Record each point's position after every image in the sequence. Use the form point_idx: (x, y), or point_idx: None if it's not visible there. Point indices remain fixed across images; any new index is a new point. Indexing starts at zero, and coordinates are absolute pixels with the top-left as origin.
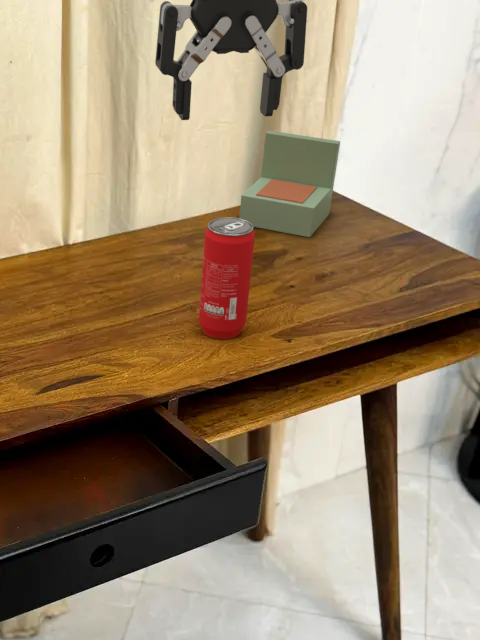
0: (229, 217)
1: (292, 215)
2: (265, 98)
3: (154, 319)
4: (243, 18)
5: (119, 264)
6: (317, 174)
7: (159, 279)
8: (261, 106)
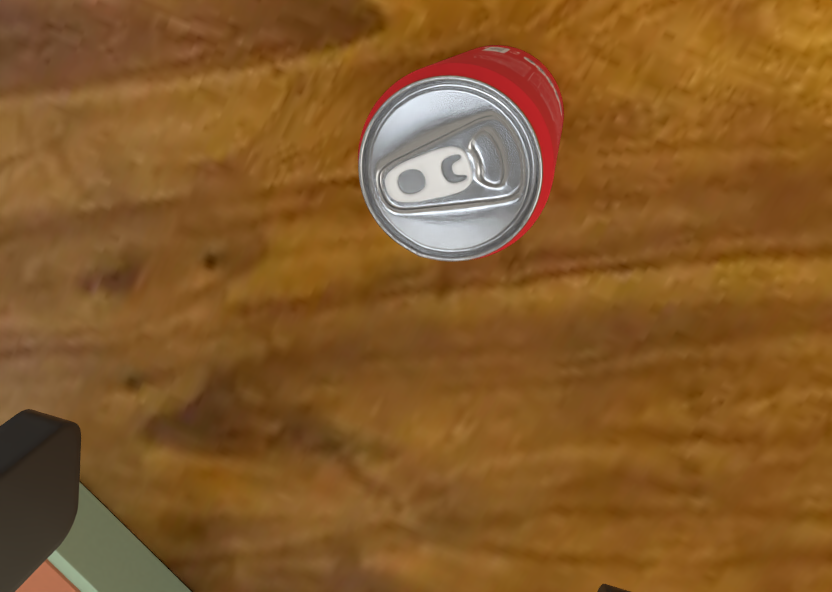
0: (412, 250)
1: (72, 532)
2: (5, 517)
3: (641, 242)
4: None
5: (570, 547)
6: None
7: (513, 435)
8: (54, 527)
